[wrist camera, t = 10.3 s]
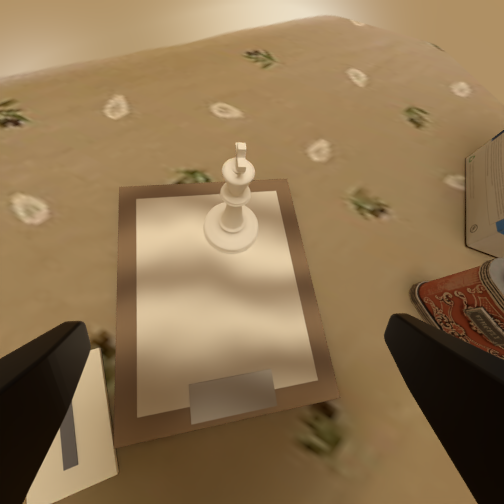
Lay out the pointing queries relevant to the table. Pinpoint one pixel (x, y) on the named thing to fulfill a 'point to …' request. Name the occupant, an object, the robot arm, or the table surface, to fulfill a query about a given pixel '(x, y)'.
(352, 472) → the table surface
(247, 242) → the chess piece
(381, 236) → the table surface
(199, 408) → the clipboard
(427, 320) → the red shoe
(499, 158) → the string lights box
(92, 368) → the plate
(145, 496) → the table surface
